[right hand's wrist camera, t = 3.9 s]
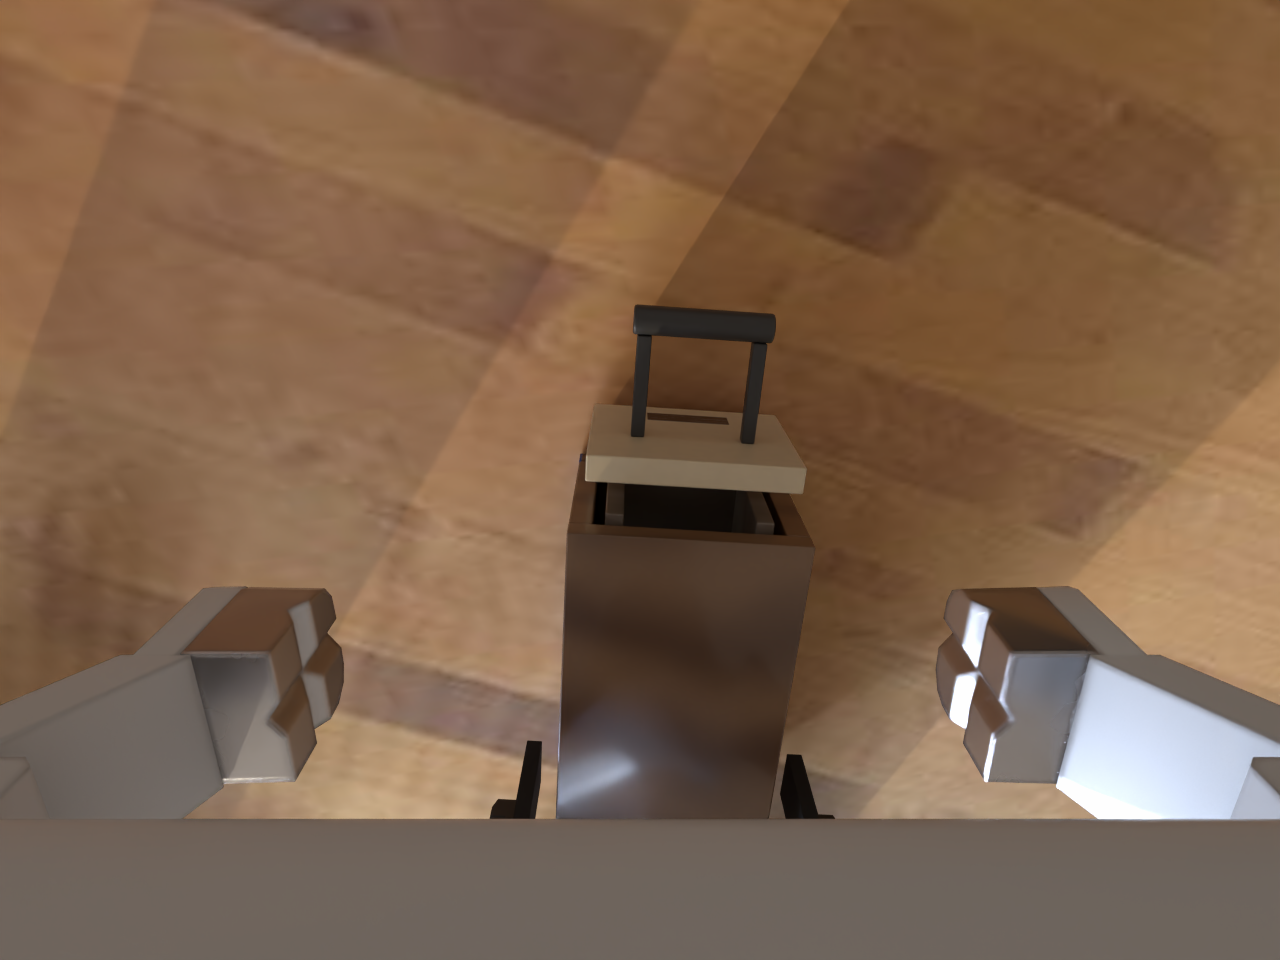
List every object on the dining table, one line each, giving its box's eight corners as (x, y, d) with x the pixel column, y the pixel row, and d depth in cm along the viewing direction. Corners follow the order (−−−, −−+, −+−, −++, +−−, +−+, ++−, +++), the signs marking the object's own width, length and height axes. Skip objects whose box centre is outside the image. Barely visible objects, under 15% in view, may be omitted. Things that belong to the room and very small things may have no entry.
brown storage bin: (580, 453, 41) (566, 532, 32) (776, 465, 41) (816, 547, 32) (567, 756, 48) (552, 889, 39) (732, 764, 48) (755, 897, 40)
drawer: (600, 286, 36) (592, 313, 29) (792, 299, 37) (829, 330, 30) (578, 709, 46) (569, 807, 39) (733, 717, 46) (751, 815, 39)
